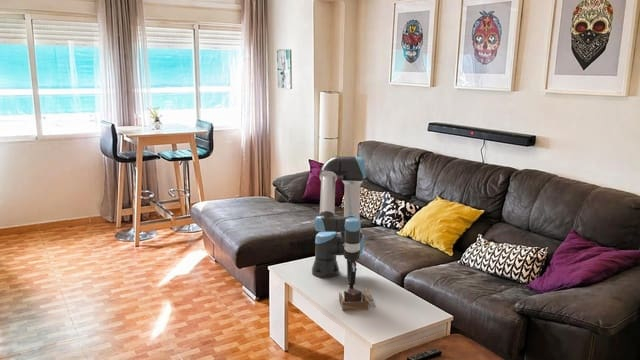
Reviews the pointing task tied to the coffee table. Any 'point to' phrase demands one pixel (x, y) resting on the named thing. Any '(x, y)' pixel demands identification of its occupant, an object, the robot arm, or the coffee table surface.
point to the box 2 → (354, 303)
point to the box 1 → (352, 295)
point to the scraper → (369, 298)
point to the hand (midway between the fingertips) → (350, 295)
